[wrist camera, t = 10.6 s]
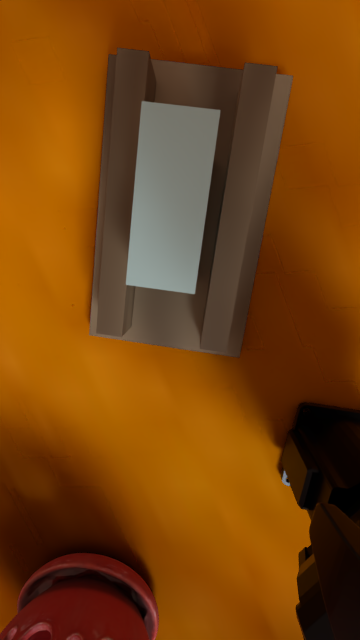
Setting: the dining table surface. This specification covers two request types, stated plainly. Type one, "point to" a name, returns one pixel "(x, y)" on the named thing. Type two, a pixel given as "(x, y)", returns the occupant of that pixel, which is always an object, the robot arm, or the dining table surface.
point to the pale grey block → (170, 195)
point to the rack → (222, 208)
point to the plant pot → (84, 602)
